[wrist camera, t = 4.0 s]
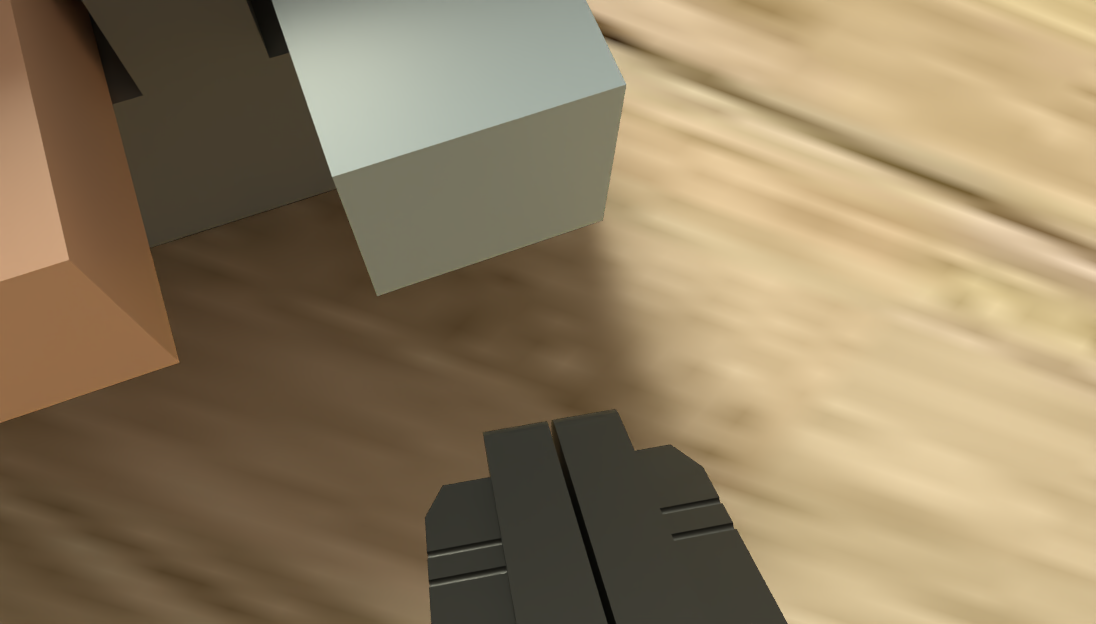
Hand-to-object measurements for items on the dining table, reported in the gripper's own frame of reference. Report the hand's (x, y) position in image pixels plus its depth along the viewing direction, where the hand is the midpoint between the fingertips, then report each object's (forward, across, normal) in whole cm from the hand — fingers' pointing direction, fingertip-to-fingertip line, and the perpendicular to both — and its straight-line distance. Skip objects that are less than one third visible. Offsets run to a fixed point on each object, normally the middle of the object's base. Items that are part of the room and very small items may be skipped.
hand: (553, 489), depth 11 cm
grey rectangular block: (+10, +1, -3) cm, 11 cm away
